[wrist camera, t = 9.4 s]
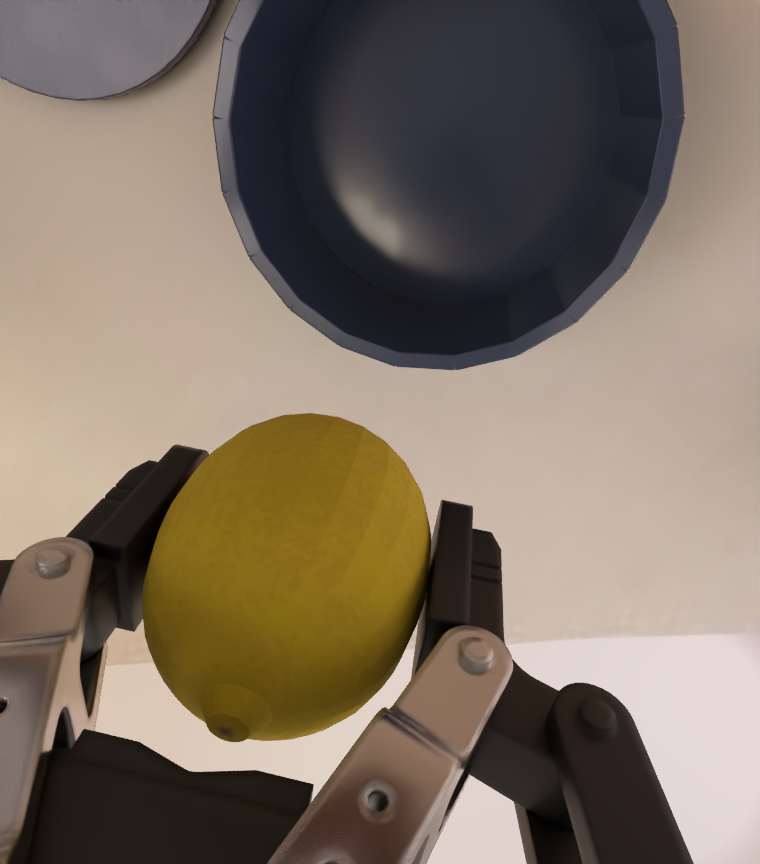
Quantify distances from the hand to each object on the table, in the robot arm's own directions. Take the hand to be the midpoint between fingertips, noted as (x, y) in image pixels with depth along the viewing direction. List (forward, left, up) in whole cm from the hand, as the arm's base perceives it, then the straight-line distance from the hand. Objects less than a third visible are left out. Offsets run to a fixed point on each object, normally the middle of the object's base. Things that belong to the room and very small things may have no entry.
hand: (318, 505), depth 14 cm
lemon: (0, 0, -2) cm, 2 cm away
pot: (-4, +5, -19) cm, 20 cm away
